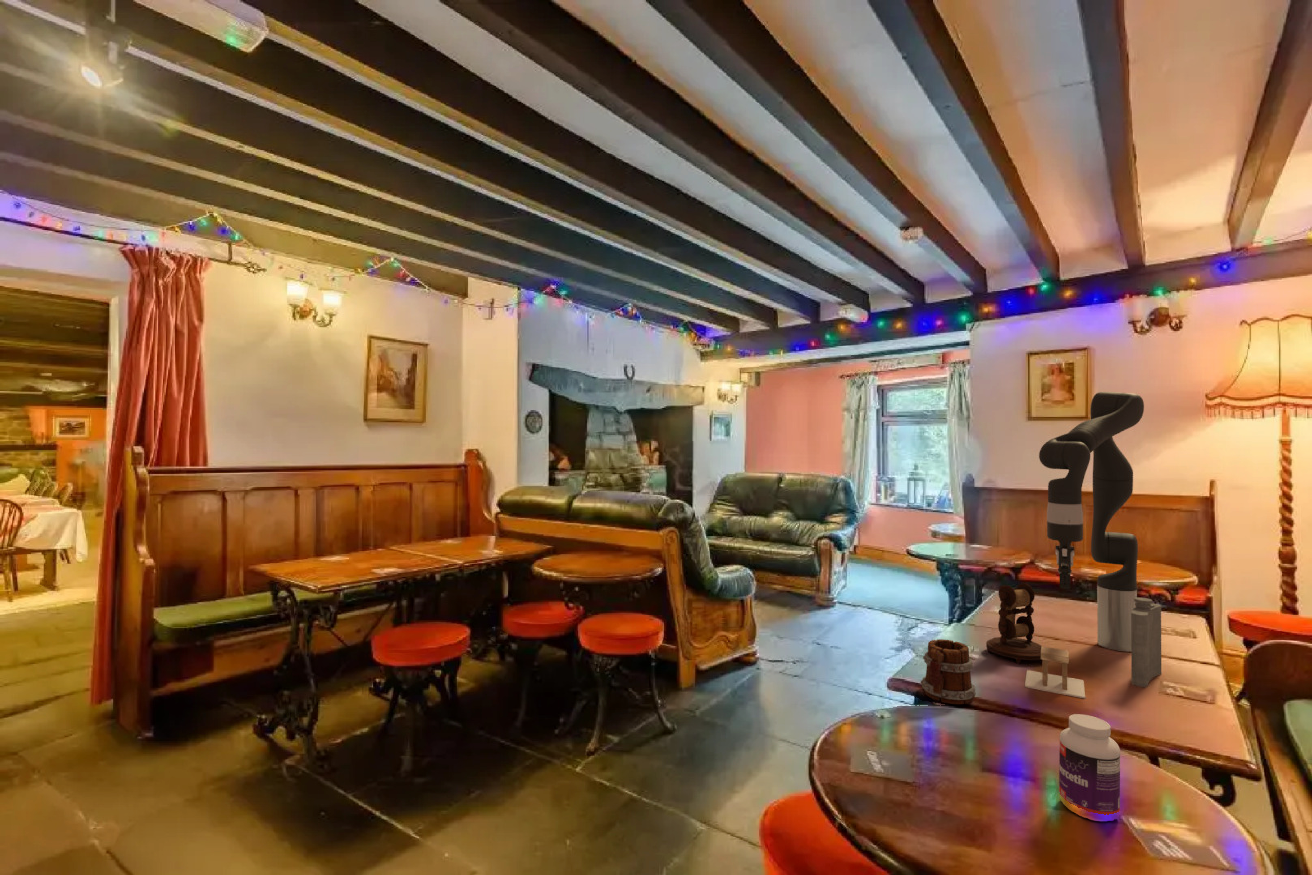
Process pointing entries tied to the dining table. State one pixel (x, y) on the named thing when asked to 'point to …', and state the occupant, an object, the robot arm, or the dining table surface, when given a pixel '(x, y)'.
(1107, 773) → the pill bottle
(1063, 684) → the stool
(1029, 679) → the mat
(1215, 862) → the dining table surface
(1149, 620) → the hip flask
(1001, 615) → the scroll
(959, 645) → the mug
